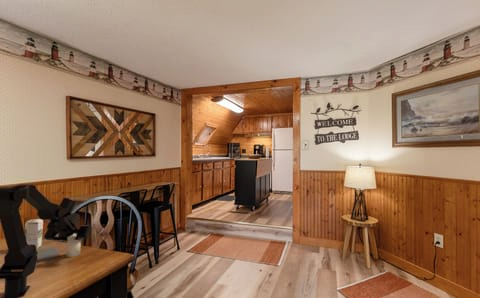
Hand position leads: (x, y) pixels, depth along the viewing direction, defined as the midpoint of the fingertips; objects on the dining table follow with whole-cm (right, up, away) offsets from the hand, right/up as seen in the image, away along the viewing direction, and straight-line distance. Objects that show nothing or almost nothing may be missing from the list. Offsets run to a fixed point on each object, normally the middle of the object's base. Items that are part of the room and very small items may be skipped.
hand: (75, 240), depth 117 cm
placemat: (-15, -6, -2) cm, 16 cm away
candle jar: (0, -7, -2) cm, 7 cm away
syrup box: (-27, -7, +6) cm, 28 cm away
